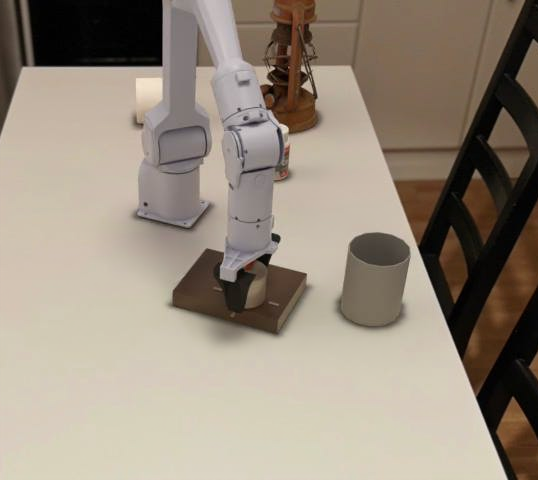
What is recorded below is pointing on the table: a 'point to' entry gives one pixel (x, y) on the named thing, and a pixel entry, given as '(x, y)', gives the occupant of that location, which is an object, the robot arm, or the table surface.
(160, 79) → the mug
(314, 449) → the table surface
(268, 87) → the lantern
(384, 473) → the table surface
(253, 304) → the rotary knob
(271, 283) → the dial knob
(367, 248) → the cup
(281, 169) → the pill bottle
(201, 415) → the table surface
